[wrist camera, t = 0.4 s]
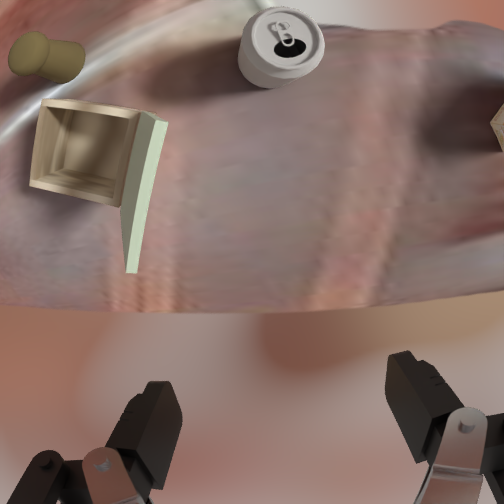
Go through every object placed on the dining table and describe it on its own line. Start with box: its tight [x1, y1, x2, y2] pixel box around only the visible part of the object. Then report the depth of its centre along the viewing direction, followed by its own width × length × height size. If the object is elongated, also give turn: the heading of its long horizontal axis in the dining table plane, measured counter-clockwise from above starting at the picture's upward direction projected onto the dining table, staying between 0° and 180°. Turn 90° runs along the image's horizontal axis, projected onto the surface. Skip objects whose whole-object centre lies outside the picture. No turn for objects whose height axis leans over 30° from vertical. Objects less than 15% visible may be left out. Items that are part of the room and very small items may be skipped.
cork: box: [8, 32, 85, 84], centre depth 23 cm, size 6×6×11 cm
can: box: [238, 6, 325, 89], centre depth 26 cm, size 8×8×12 cm
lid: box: [120, 111, 169, 273], centre depth 23 cm, size 12×10×1 cm
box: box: [29, 99, 157, 208], centre depth 30 cm, size 12×10×8 cm
